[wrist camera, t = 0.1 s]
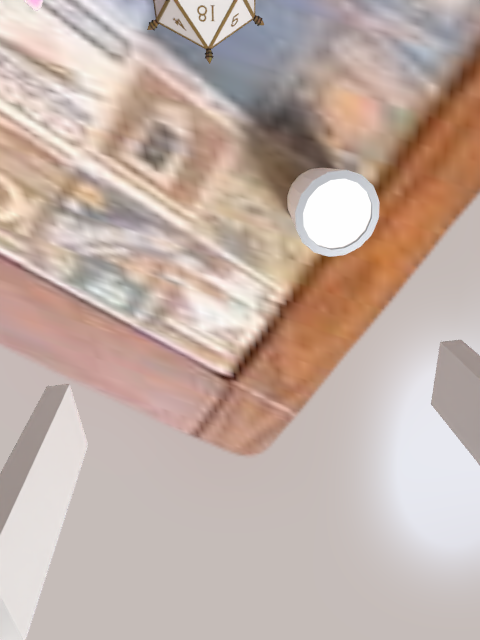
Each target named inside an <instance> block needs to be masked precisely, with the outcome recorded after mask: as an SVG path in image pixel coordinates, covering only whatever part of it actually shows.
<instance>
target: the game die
mask: <svg viewBox="0 0 480 640" xmlns="http://www.w3.org/2000/svg"><path fill="white" fill-rule="evenodd" d="M153 1H154V9H155V16H156V19H155V20H152V22H149V26H148V29H147V30H155V28H157V25H158V24H160V25H162V26H164V27H166V28H168V29H169V30H171V31H173V32H175V33H177V34H179V35H181V36H182V37H184V38H186V39H188V40H190V41H192V42H193V43H195V44H197V45H199V46H201V47H203V48H204V49H206V53H205V54H206V57H205V58H206V59H207V60H208V62H209V64H210V62H211V60H212V58H213V56H212V54H213V53H212V52H211V49H212V48H214V47H215V46H216V45H218V44H219V43H221V42H222V41H223V40H225V39H226V38H228V37H229V36H231V35H232V34H233V33H235V32H236V31H238V30H239V29H240V28H242V27H243V26H245V25H246V24H247V23H249V22H250V21H252V20H253V21H254V22H255V24H257V26H259V25H264V23H263V21H262V18H260V17H259V16H256V15H255V0H153Z"/></svg>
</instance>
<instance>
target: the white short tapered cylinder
mask: <svg viewBox="0 0 480 640" xmlns="http://www.w3.org/2000/svg"><path fill="white" fill-rule="evenodd" d="M287 206H288V211H289V213H290V215H291V218H292V220H293V223H294V225H295V227H296V229H297V232H298V234H299V236H300V238H301V240H302V242H303V243H304V244H305V245H306V246H307V247H309V248H310V249H311V250H312V251H313V252H315V253H318V254H322V255H325V256H329V257H330V256H339V255H346V254H348V253H349V252H351V251H353V250H355V249H357V248H359V247H361V245H362V244H363V243H364V242H365V241H366V240H367V239H368V238H369V237H370V236H371V235H372V233H373V230H374V228H375V226H376V223H377V221H378V219H379V199H378V197H377V194H376V191H375V189H374V186H373V185H372V184H371V183H370V182H369V181H368V180H367V179H366V178H365V177H364V176H362V175H360V174H357V173H354V172H351V171H348V170H342V169H330V168H315V169H309V170H307V171H306V172H304V173H302V174H300V175H299V176H298V177H297V178H296V180H295V181H294V182H293V183H292V184H291V187H290V189H289V192H288V195H287Z"/></svg>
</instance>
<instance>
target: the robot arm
mask: <svg viewBox="0 0 480 640" xmlns="http://www.w3.org/2000/svg"><path fill="white" fill-rule="evenodd" d="M431 405H432V406H433V407H434V408H435V410H436V411H437V412H438V413H439V414H440V416H441V417H442V418H443V420H444V421H445V422H446V423H447V425H448V426H449V427H450V428H451V430H452V431H453V432H454V433H455V435H456V436H457V437H458V438H459V440H460V441H461V442H462V443H463V445H464V446H465V447H466V448H467V450H468V451H469V452H470V453H471V455H472V456H473V457H474V459H476V461H477V462H478V464H479V465H480V356H479V355H478V354H477V353H476V352H475V351H474V350H472V349H471V348H470V347H469V346H468V345H467V344H466V343H464V342H463V341H462V340H454V341H445V342H440V348H439V355H438V361H437V368H436V374H435V381H434V388H433V394H432V401H431ZM87 447H88V443H87V440H86V437H85V433H84V430H83V427H82V423H81V420H80V417H79V413H78V410H77V407H76V403H75V400H74V397H73V393H72V390H71V387H70V384H65V385H55V386H47V387H46V389H45V391H44V393H43V395H42V397H41V399H40V401H39V402H38V404H37V406H36V408H35V410H34V412H33V413H32V415H31V417H30V419H29V421H28V423H27V425H26V426H25V429H24V430H23V432H22V434H21V436H20V438H19V440H18V442H17V443H16V445H15V447H14V449H13V451H12V453H11V455H10V456H9V458H8V460H7V462H6V464H5V466H4V467H3V469H2V471H1V473H0V640H26V638H27V634H28V631H29V628H30V625H31V622H32V619H33V616H34V612H35V609H36V606H37V603H38V600H39V597H40V593H41V591H42V588H43V585H44V581H45V578H46V575H47V572H48V569H49V566H50V563H51V560H52V556H53V553H54V550H55V547H56V544H57V541H58V538H59V534H60V531H61V528H62V525H63V522H64V519H65V516H66V512H67V510H68V506H69V503H70V500H71V497H72V494H73V491H74V488H75V485H76V482H77V478H78V475H79V472H80V469H81V466H82V463H83V460H84V456H85V453H86V450H87Z"/></svg>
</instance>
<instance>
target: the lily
mask: <svg viewBox="0 0 480 640" xmlns="http://www.w3.org/2000/svg"><path fill="white" fill-rule="evenodd" d="M24 1H25V2H26V3H27V4H28V5H29V6H30V7H31V8H32V9H34V10H36V11H38V10H39V9H40V8H41V6H42V3H43V0H24Z"/></svg>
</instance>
